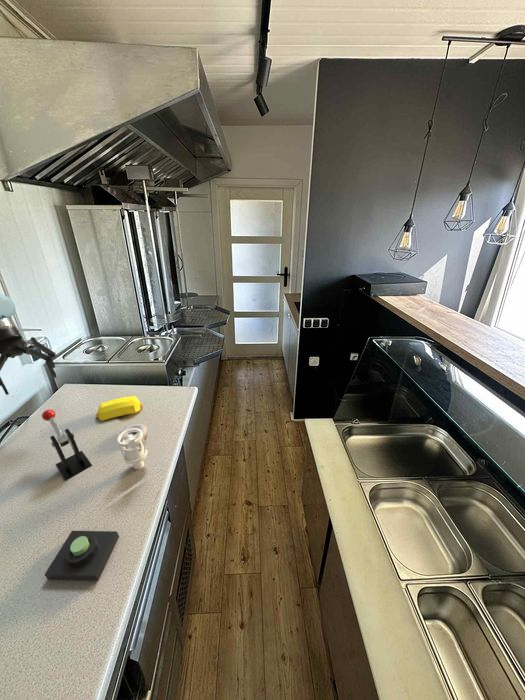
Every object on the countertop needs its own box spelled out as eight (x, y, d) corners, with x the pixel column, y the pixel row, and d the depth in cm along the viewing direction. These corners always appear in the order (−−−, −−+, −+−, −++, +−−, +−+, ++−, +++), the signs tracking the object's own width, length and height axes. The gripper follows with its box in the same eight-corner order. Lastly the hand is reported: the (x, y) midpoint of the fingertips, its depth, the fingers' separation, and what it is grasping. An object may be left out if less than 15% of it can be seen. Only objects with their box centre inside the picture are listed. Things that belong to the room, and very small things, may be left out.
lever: (41, 416, 95) (38, 410, 92) (53, 411, 97) (51, 405, 95) (59, 449, 89) (57, 443, 87) (72, 443, 92) (70, 437, 89)
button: (69, 556, 67) (66, 551, 66) (78, 540, 70) (76, 535, 69) (83, 556, 67) (81, 552, 66) (92, 540, 70) (90, 536, 69)
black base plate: (47, 579, 66) (41, 570, 64) (74, 535, 75) (69, 526, 73) (98, 581, 65) (93, 571, 64) (119, 536, 74) (115, 526, 73)
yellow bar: (97, 414, 120) (96, 425, 114) (93, 401, 117) (91, 411, 111) (143, 403, 127) (144, 413, 120) (139, 390, 124) (140, 400, 117)
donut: (132, 426, 113) (113, 444, 104) (130, 419, 111) (111, 436, 103) (153, 431, 110) (136, 449, 101) (152, 424, 109) (134, 442, 100)
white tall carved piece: (131, 480, 90) (119, 444, 83) (125, 466, 95) (114, 431, 88) (153, 469, 94) (144, 434, 87) (147, 456, 99) (137, 422, 92)
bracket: (56, 466, 96) (41, 435, 90) (82, 452, 101) (70, 422, 95) (66, 483, 89) (51, 450, 83) (93, 467, 95) (80, 436, 89)
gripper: (47, 327, 111) (72, 373, 108) (-42, 350, 94) (-14, 404, 92) (46, 317, 105) (72, 366, 103) (-48, 339, 89) (-19, 397, 86)
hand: (32, 384), depth 97 cm, fingers open, 13 cm apart
